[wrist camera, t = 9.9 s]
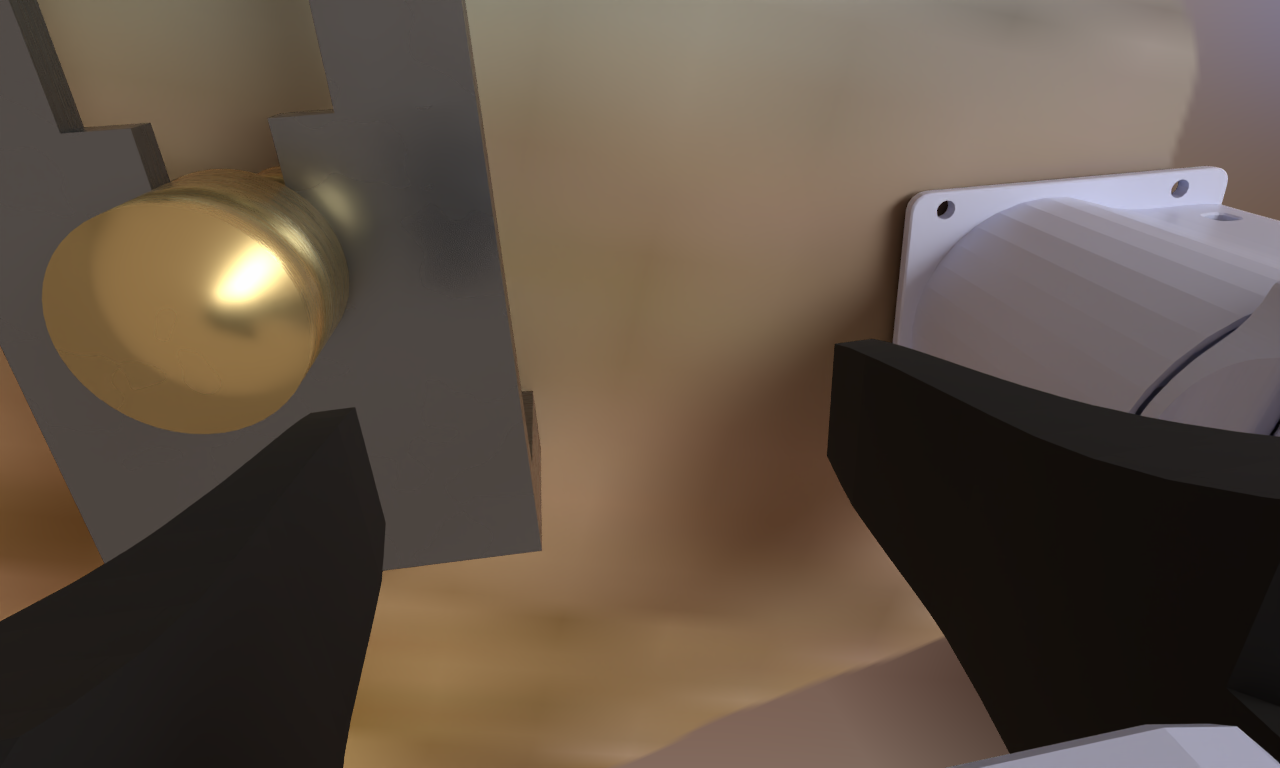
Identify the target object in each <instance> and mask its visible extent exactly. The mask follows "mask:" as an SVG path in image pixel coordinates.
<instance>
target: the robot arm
mask: <svg viewBox="0 0 1280 768" xmlns="http://www.w3.org/2000/svg"><path fill="white" fill-rule="evenodd" d="M1177 181H1178V187H1177V189H1176V190H1175V191H1174V192H1173V193H1172V194H1171V189H1172V187H1173V185H1174V184H1175V183H1176V182H1177ZM1227 181H1228V176H1227V174H1226V172H1225V171H1224V170H1223V169H1222V168H1217V167H1212V166H1200V167H1189V168H1179V169H1166V170H1155V171H1144V172H1132V173H1121V174H1110V175H1098V176H1087V177H1076V178H1065V179H1053V180H1042V181H1031V182H1019V183H1008V184H997V185H986V186H974V187H963V188H952V189H941V190H929V191H923V192H919V193H917V194H916V195H915V196H913V197H912V198H911V200H910V201H909V203H908V205H907V208H906V215H905V225H904V235H903V245H902V255H901V265H900V275H899V285H898V294H897V304H896V314H895V324H894V334H893V343H890V342H885V341H881V340H875V339H868V340H861V341H853V342H845V343H838V344H835V348H834V362H833V377H832V391H831V406H830V420H829V434H828V449H827V457H828V459H829V461H830V463H831V465H832V467H833V469H834V471H835V473H836V475H837V477H838V479H839V481H840V483H841V485H842V487H843V489H844V491H845V493H846V495H847V497H848V498H849V500H850V502H851V504H852V506H853V507H854V509H855V510H856V512H857V513H858V514H859V516H860V517H861V519H862V520H863V522H864V523H865V524H866V526H867V527H868V529H869V530H870V531H871V533H872V534H873V536H874V537H875V538H876V540H877V541H878V543H879V544H880V545H881V547H882V548H883V550H884V551H885V552H886V554H887V555H888V556H889V558H890V559H891V561H892V562H893V563H894V565H895V566H896V567H897V569H898V570H899V572H900V573H901V574H902V576H903V577H904V578H905V580H906V581H907V582H908V584H909V585H910V587H911V588H912V589H913V591H914V592H915V593H916V595H917V596H918V598H919V599H920V600H921V602H922V603H923V604H924V606H925V607H926V609H927V610H928V611H929V613H930V614H931V616H932V617H933V619H934V620H935V622H936V623H937V625H938V626H939V628H940V629H941V631H942V632H943V634H944V635H945V637H946V639H947V640H948V642H949V644H950V645H951V647H952V649H953V651H954V653H955V654H956V656H957V658H958V659H959V661H960V663H961V665H962V667H963V668H964V670H965V672H966V674H967V675H968V677H969V679H970V681H971V682H972V684H973V686H974V688H975V689H976V691H977V693H978V694H979V696H980V698H981V700H982V702H983V704H984V706H985V708H986V710H987V711H988V713H989V715H990V717H991V719H992V721H993V723H994V724H995V727H996V728H997V730H998V732H999V734H1000V736H1001V738H1002V740H1003V742H1004V744H1005V745H1006V747H1007V749H1008V751H1009V753H1010V754H1007V755H1002V756H998V757H993V758H989V759H984V760H979V761H975V762H970V763H965V764H961V765H956V766H952V767H948V768H1280V221H1277V220H1274V219H1270V218H1267V217H1263V216H1260V215H1256V214H1252V213H1249V212H1245V211H1242V210H1238V209H1234V208H1231V207H1227V206H1223V205H1221V204H1222V200H1223V197H1224V193H1225V190H1226V186H1227ZM944 201H948V208H947V211H946V212H945V213H944V214H943V215H940V216H937V209H938V206H939V205H940V204H941V203H942V202H944ZM385 527H386V522H385V518H384V514H383V511H382V507H381V503H380V499H379V495H378V492H377V488H376V484H375V480H374V476H373V473H372V469H371V465H370V461H369V457H368V454H367V450H366V446H365V442H364V438H363V435H362V431H361V427H360V423H359V419H358V416H357V412H356V408H355V407H351V408H343V409H336V410H328V411H321V412H313V413H310V414H308V415H306V416H305V417H303V418H302V419H300V420H299V421H298V422H296V423H295V424H294V425H292V426H291V427H290V428H288V429H287V430H286V431H285V432H283V433H282V434H281V435H280V436H278V437H277V438H276V439H275V440H273V441H272V442H271V443H270V444H269V445H267V446H266V447H265V448H264V449H262V450H261V451H260V452H259V453H258V454H256V455H255V456H254V457H253V458H251V459H250V460H249V461H248V462H246V463H245V464H244V465H243V466H241V467H240V468H239V469H238V470H237V471H235V472H234V473H233V474H232V475H230V476H229V477H228V478H227V479H225V480H224V481H223V482H222V483H220V484H219V485H218V486H216V487H215V488H214V489H212V490H211V491H210V492H208V493H207V494H206V495H204V496H203V497H201V498H200V499H199V500H197V501H196V502H195V503H193V504H192V505H191V506H189V507H188V508H187V509H185V510H184V511H183V512H181V513H180V514H179V515H177V516H176V517H174V518H173V519H172V520H170V521H169V522H168V523H166V524H165V525H164V526H162V527H161V528H159V529H158V530H156V531H155V532H153V533H152V534H151V535H149V536H148V537H146V538H145V539H143V540H142V541H140V542H138V543H137V544H135V545H134V546H132V547H131V548H129V549H128V550H126V551H125V552H123V553H121V554H120V555H118V556H117V557H115V558H113V559H112V560H110V561H108V562H107V563H105V564H103V565H102V566H100V567H99V568H97V569H95V570H94V571H92V572H90V573H89V574H87V575H85V576H84V577H82V578H80V579H79V580H77V581H75V582H73V583H72V584H70V585H68V586H66V587H64V588H62V589H61V590H59V591H57V592H55V593H53V594H51V595H49V596H47V597H46V598H44V599H42V600H40V601H38V602H36V603H34V604H32V605H30V606H29V607H27V608H25V609H23V610H21V611H19V612H17V613H15V614H14V615H12V616H10V617H8V618H6V619H4V620H2V621H0V768H343V764H344V756H345V749H346V744H347V738H348V732H349V727H350V721H351V716H352V712H353V708H354V703H355V699H356V694H357V690H358V686H359V681H360V677H361V672H362V668H363V664H364V659H365V655H366V650H367V646H368V642H369V637H370V633H371V628H372V624H373V619H374V615H375V610H376V606H377V601H378V596H379V592H380V587H381V582H382V570H383V559H384V544H385Z"/></svg>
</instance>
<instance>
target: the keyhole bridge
mask: <svg viewBox="0 0 1280 768" xmlns="http://www.w3.org/2000/svg"><path fill="white" fill-rule="evenodd" d="M309 3H310V8H311V12H312V16H313V21H314V25H315V30H316V34H317V38H318V43H319V47H320V52H321V56H322V60H323V65H324V69H325V74H326V78H327V82H328V87H329V91H330V96H331V100H332V104H333V109H330V110H316V111H303V112H289V113H280V114H277V115H275V116H272V117H269V118H268V122H269V126H270V130H271V133H272V137H273V141H274V145H275V148H276V152H277V156H278V160H279V164H280V167H281V171H282V175H283V179H284V182H285V186H286V187H288V188H290V189H291V190H293V191H295V192H296V193H298V194H299V195H300V196H302V197H303V198H304V199H306V200H307V201H308V202H309V203H310V204H311V205H312V206H313V207H314V208H316V209H317V210H318V211H319V213H320V214H321V215H322V216H323V217H324V218H325V220H326V221H327V222H328V223H329V225H330V226H331V228H332V229H333V231H334V232H335V234H336V236H337V238H338V240H339V242H340V244H341V246H342V248H343V251H344V254H345V257H346V260H347V265H348V270H349V282H350V285H349V297H348V301H347V305H346V309H345V311H344V314H343V316H342V318H341V320H340V322H339V323H338V325H337V327H336V328H335V330H334V332H333V333H332V335H331V336H330V338H329V339H328V341H327V343H326V344H325V346H324V347H323V349H322V351H321V352H320V354H319V355H318V357H317V358H316V360H315V362H314V363H313V365H312V366H311V368H310V369H309V371H308V373H307V374H306V376H305V377H304V379H303V380H302V382H301V384H300V385H299V387H298V388H297V390H296V391H295V393H294V394H293V395H292V396H291V398H290V399H289V400H288V401H287V402H286V403H285V404H284V405H283V406H282V407H281V408H280V409H279V410H277V411H276V412H275V413H273V414H272V415H270V416H269V417H267V418H266V419H264V420H262V421H260V422H258V423H256V424H254V425H251V426H248V427H245V428H242V429H239V430H235V431H230V432H225V433H215V434H189V433H181V432H174V431H170V430H165V429H161V428H157V427H154V426H151V425H148V424H145V423H142V422H140V421H138V420H135V419H133V418H131V417H129V416H126V415H125V414H123V413H121V412H119V411H118V410H116V409H114V408H112V407H111V406H109V405H108V404H106V403H105V402H104V401H102V400H101V399H99V398H98V397H96V396H95V395H94V394H93V393H92V392H91V391H90V390H88V389H87V388H86V387H85V386H84V385H83V384H82V383H81V382H80V381H79V380H78V379H77V378H76V377H75V376H74V374H73V373H72V372H71V371H70V370H69V368H68V367H67V365H66V364H65V363H64V361H63V360H62V359H61V357H60V355H59V353H58V352H57V350H56V348H55V346H54V345H53V342H52V340H51V337H50V335H49V332H48V330H47V326H46V323H45V319H44V315H43V306H42V287H43V280H44V276H45V272H46V268H47V266H48V264H49V261H50V259H51V257H52V255H53V253H54V252H55V250H56V249H57V247H58V246H59V244H60V243H61V242H62V241H63V240H64V239H65V238H66V236H67V235H68V234H69V233H70V232H71V231H73V230H74V229H75V228H77V227H78V226H79V225H81V224H82V223H84V222H85V221H87V220H89V219H91V218H93V217H95V216H97V215H99V214H101V213H103V212H105V211H108V210H110V209H112V208H114V207H116V206H119V205H121V204H123V203H125V202H127V201H129V200H132V199H134V198H136V197H138V196H140V195H142V194H145V193H147V192H149V191H151V190H153V189H156V188H158V187H160V186H162V185H164V184H166V183H169V182H170V180H169V177H168V174H167V171H166V168H165V165H164V162H163V159H162V156H161V153H160V150H159V147H158V144H157V141H156V138H155V135H154V132H153V129H152V126H151V123H140V124H127V125H113V126H99V127H86V128H84V126H83V124H82V121H81V118H80V115H79V113H78V110H77V107H76V105H75V102H74V99H73V97H72V94H71V91H70V89H69V86H68V83H67V80H66V78H65V75H64V72H63V70H62V67H61V64H60V62H59V59H58V56H57V54H56V51H55V48H54V45H53V43H52V40H51V37H50V35H49V32H48V29H47V27H46V24H45V21H44V19H43V16H42V13H41V10H40V8H39V5H38V2H37V0H0V346H1V348H2V350H3V352H4V354H5V356H6V358H7V360H8V363H9V365H10V367H11V369H12V371H13V373H14V375H15V377H16V379H17V381H18V384H19V386H20V388H21V390H22V392H23V394H24V396H25V398H26V400H27V402H28V404H29V407H30V409H31V411H32V413H33V415H34V417H35V419H36V421H37V423H38V425H39V427H40V430H41V432H42V434H43V436H44V438H45V440H46V442H47V444H48V446H49V448H50V450H51V453H52V455H53V457H54V459H55V461H56V463H57V465H58V467H59V469H60V471H61V473H62V476H63V478H64V480H65V482H66V484H67V486H68V488H69V490H70V492H71V494H72V496H73V499H74V501H75V503H76V505H77V507H78V509H79V511H80V513H81V515H82V517H83V519H84V522H85V524H86V526H87V528H88V530H89V532H90V534H91V536H92V538H93V540H94V542H95V545H96V547H97V549H98V551H99V553H100V555H101V557H102V559H103V561H104V563H107V562H108V561H110V560H112V559H113V558H115V557H117V556H118V555H120V554H121V553H123V552H125V551H126V550H128V549H129V548H131V547H132V546H134V545H135V544H137V543H138V542H140V541H142V540H143V539H145V538H146V537H148V536H149V535H151V534H152V533H153V532H155V531H156V530H158V529H159V528H161V527H162V526H164V525H165V524H166V523H168V522H169V521H170V520H172V519H173V518H174V517H176V516H177V515H179V514H180V513H181V512H183V511H184V510H185V509H187V508H188V507H189V506H191V505H192V504H193V503H195V502H196V501H197V500H199V499H200V498H201V497H203V496H204V495H206V494H207V493H208V492H210V491H211V490H212V489H214V488H215V487H216V486H218V485H219V484H220V483H222V482H223V481H224V480H225V479H227V478H228V477H229V476H230V475H232V474H233V473H234V472H235V471H237V470H238V469H239V468H240V467H241V466H243V465H244V464H245V463H246V462H248V461H249V460H250V459H251V458H253V457H254V456H255V455H256V454H258V453H259V452H260V451H261V450H262V449H264V448H265V447H266V446H267V445H269V444H270V443H271V442H272V441H273V440H275V439H276V438H277V437H278V436H280V435H281V434H282V433H283V432H285V431H286V430H287V429H288V428H290V427H291V426H292V425H294V424H295V423H296V422H298V421H299V420H300V419H302V418H303V417H305V416H306V415H308V414H310V413H313V412H321V411H328V410H336V409H343V408H351V407H355V408H356V412H357V416H358V419H359V423H360V427H361V431H362V435H363V438H364V442H365V446H366V450H367V454H368V457H369V461H370V465H371V469H372V473H373V476H374V480H375V484H376V488H377V492H378V495H379V499H380V503H381V507H382V511H383V514H384V518H385V522H386V527H385V544H384V559H383V570H382V571H384V570H392V569H400V568H408V567H416V566H424V565H432V564H440V563H447V562H455V561H463V560H471V559H479V558H487V557H495V556H503V555H511V554H519V553H527V552H535V551H542V518H541V447H540V440H539V433H538V425H537V418H536V411H535V403H534V396H533V391H527V392H522V391H521V384H520V377H519V371H518V364H517V357H516V350H515V343H514V336H513V329H512V322H511V315H510V308H509V301H508V294H507V287H506V280H505V273H504V267H503V260H502V253H501V246H500V239H499V232H498V225H497V218H496V211H495V204H494V197H493V190H492V183H491V176H490V170H489V163H488V156H487V149H486V142H485V135H484V128H483V121H482V114H481V107H480V100H479V93H478V86H477V79H476V72H475V66H474V59H473V52H472V45H471V38H470V31H469V24H468V17H467V10H466V3H465V0H309Z"/></svg>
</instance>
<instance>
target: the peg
mask: <svg viewBox="0 0 1280 768" xmlns="http://www.w3.org/2000/svg"><path fill="white" fill-rule="evenodd" d="M349 285H350V282H349V270H348V265H347V260H346V257H345V254H344V251H343V248H342V246H341V244H340V242H339V240H338V238H337V236H336V234H335V232H334V231H333V229H332V228H331V226H330V225H329V223H328V222H327V221H326V220H325V218H324V217H323V216H322V215H321V214H320V213H319V211H318V210H317V209H316V208H314V207H313V206H312V205H311V204H310V203H309V202H308V201H307V200H306V199H304V198H303V197H302V196H300V195H299V194H298V193H296V192H295V191H293V190H291V189H290V188H288V187H286V186H285V182H284V179H283V175H282V171H281V167H280V166H276V167H271V168H268V169H265V170H263V171H261V172H259V173H257V174H255V173H251V172H246V171H241V170H233V169H209V170H203V171H198V172H194V173H191V174H188V175H185V176H182V177H179V178H177V179H175V180H173V181H171V182H169V183H166V184H164V185H162V186H160V187H158V188H156V189H153V190H151V191H149V192H147V193H145V194H142V195H140V196H138V197H136V198H134V199H132V200H129V201H127V202H125V203H123V204H121V205H119V206H116V207H114V208H112V209H110V210H108V211H105V212H103V213H101V214H99V215H97V216H95V217H93V218H91V219H89V220H87V221H85V222H84V223H82V224H81V225H79V226H78V227H77V228H75V229H74V230H73V231H71V232H70V233H69V234H68V235H67V236H66V238H65V239H64V240H63V241H62V242H61V243H60V244H59V246H58V247H57V249H56V250H55V252H54V253H53V255H52V257H51V259H50V261H49V264H48V266H47V268H46V272H45V276H44V280H43V287H42V306H43V315H44V319H45V323H46V326H47V330H48V332H49V335H50V337H51V340H52V342H53V345H54V346H55V348H56V350H57V352H58V353H59V355H60V357H61V359H62V360H63V361H64V363H65V364H66V365H67V367H68V368H69V370H70V371H71V372H72V373H73V374H74V376H75V377H76V378H77V379H78V380H79V381H80V382H81V383H82V384H83V385H84V386H85V387H86V388H87V389H88V390H90V391H91V392H92V393H93V394H94V395H95V396H96V397H98V398H99V399H101V400H102V401H104V402H105V403H106V404H108V405H109V406H111V407H112V408H114V409H116V410H118V411H119V412H121V413H123V414H125V415H126V416H129V417H131V418H133V419H135V420H138V421H140V422H142V423H145V424H148V425H151V426H154V427H157V428H161V429H165V430H170V431H174V432H181V433H189V434H215V433H225V432H230V431H235V430H239V429H242V428H245V427H248V426H251V425H254V424H256V423H258V422H260V421H262V420H264V419H266V418H267V417H269V416H270V415H272V414H273V413H275V412H276V411H277V410H279V409H280V408H281V407H282V406H283V405H284V404H285V403H286V402H287V401H288V400H289V399H290V398H291V396H292V395H293V394H294V393H295V391H296V390H297V388H298V387H299V385H300V384H301V382H302V380H303V379H304V377H305V376H306V374H307V373H308V371H309V369H310V368H311V366H312V365H313V363H314V362H315V360H316V358H317V357H318V355H319V354H320V352H321V351H322V349H323V347H324V346H325V344H326V343H327V341H328V339H329V338H330V336H331V335H332V333H333V332H334V330H335V328H336V327H337V325H338V323H339V322H340V320H341V318H342V316H343V314H344V311H345V309H346V305H347V301H348V297H349Z"/></svg>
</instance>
